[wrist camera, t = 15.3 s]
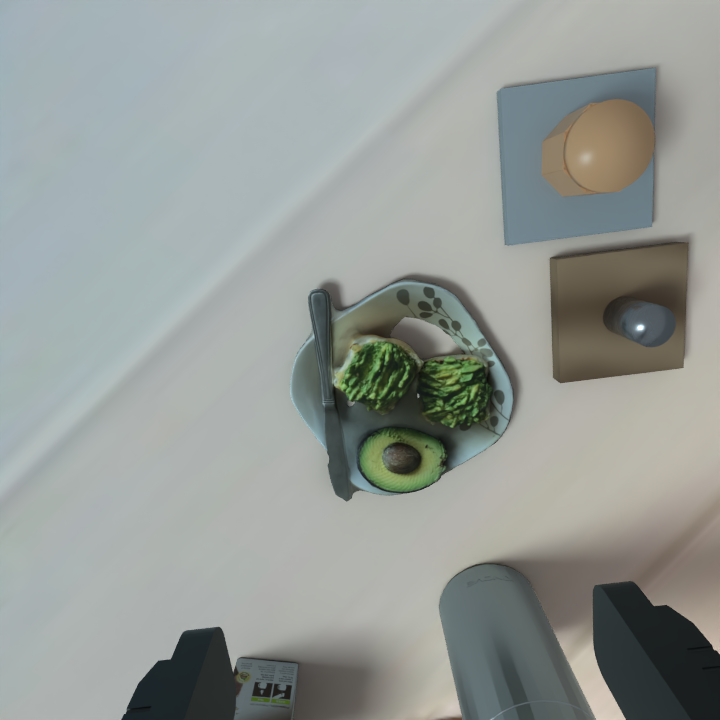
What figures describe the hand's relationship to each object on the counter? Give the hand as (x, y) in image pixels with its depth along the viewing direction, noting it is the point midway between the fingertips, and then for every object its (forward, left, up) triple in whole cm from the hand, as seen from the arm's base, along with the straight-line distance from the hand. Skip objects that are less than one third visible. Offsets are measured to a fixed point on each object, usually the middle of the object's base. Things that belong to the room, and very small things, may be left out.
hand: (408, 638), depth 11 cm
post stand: (-1, -20, -32) cm, 38 cm away
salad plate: (-6, -2, -33) cm, 33 cm away
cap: (+11, -17, -31) cm, 37 cm away
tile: (+11, -17, -32) cm, 38 cm away
